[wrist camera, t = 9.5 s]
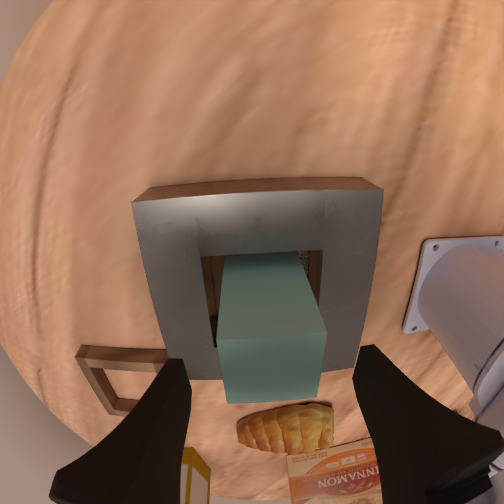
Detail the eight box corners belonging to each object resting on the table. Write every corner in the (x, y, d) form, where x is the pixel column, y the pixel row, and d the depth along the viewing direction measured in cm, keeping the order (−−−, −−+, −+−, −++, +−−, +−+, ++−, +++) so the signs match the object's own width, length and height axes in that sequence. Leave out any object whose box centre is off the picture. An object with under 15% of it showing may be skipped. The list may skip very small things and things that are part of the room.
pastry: (241, 438, 27) (241, 467, 24) (232, 405, 24) (231, 439, 21) (327, 428, 27) (333, 456, 24) (333, 393, 24) (342, 426, 21)
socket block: (361, 177, 16) (383, 189, 13) (342, 339, 21) (353, 367, 18) (149, 187, 16) (131, 202, 13) (182, 349, 21) (176, 379, 18)
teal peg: (293, 243, 18) (327, 332, 10) (292, 299, 19) (316, 397, 12) (225, 247, 17) (216, 339, 10) (231, 303, 19) (227, 403, 12)
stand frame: (169, 349, 21) (165, 363, 19) (189, 409, 24) (187, 421, 23) (81, 345, 21) (74, 357, 19) (112, 403, 24) (109, 414, 23)
